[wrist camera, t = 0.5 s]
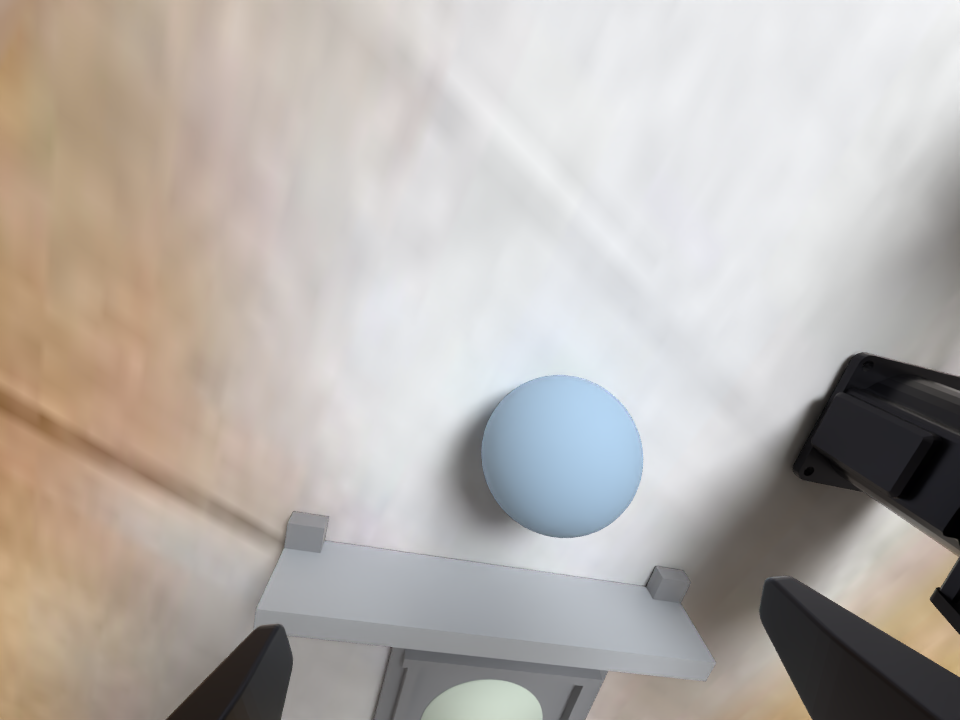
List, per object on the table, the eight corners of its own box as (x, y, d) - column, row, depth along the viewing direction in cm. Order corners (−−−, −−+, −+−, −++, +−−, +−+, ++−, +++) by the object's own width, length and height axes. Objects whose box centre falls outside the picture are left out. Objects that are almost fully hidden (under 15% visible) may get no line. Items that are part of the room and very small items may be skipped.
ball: (627, 370, 19) (704, 438, 14) (584, 485, 21) (635, 587, 15) (495, 340, 18) (519, 400, 13) (462, 463, 20) (469, 563, 15)
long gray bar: (683, 570, 23) (729, 640, 20) (655, 626, 25) (693, 702, 21) (293, 511, 20) (259, 580, 17) (283, 578, 22) (250, 657, 18)
